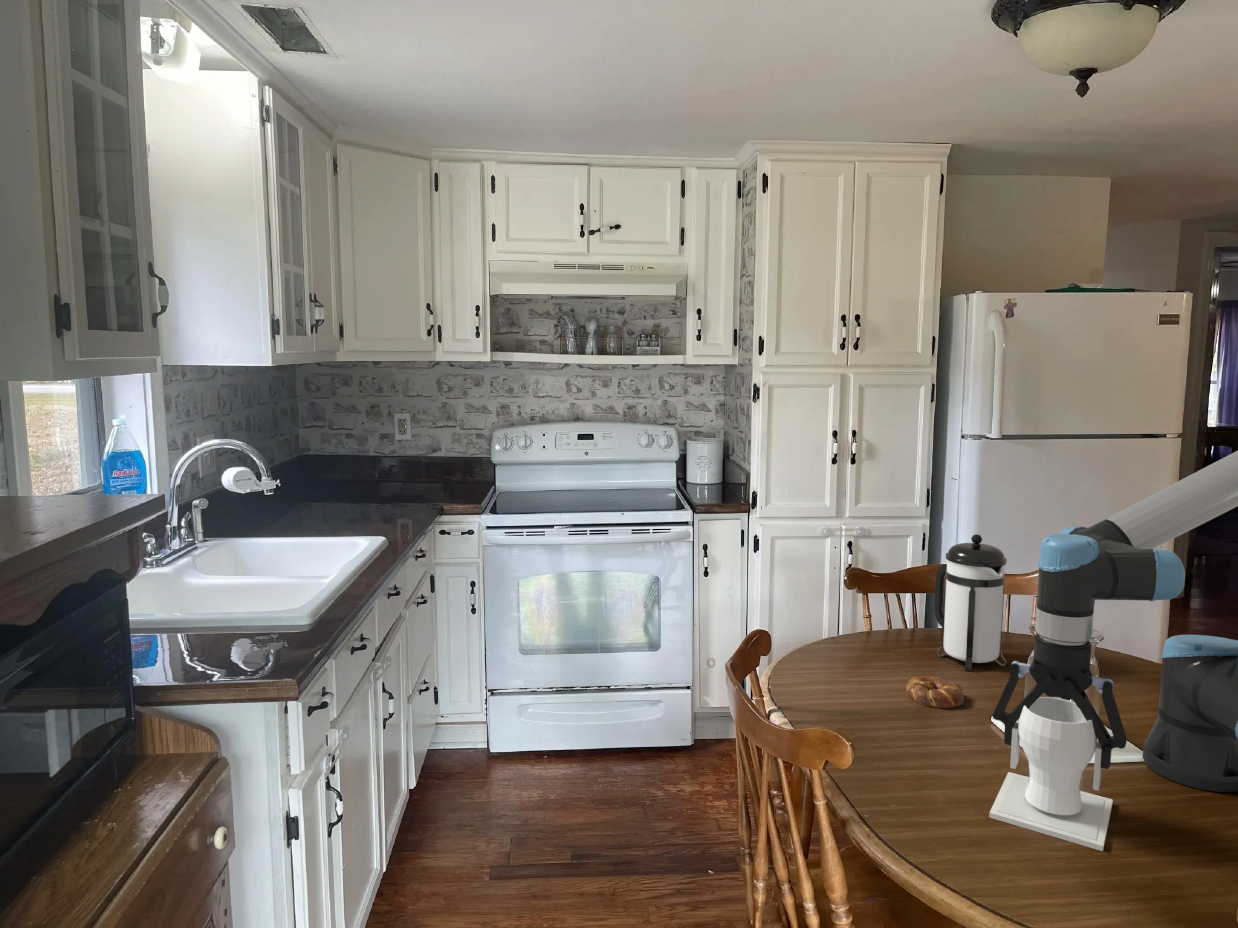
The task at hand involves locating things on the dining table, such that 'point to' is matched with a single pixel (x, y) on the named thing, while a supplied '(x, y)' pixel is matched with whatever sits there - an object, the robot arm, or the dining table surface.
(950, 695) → the brown braided bread ring
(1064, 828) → the coaster
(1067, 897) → the dining table surface
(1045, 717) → the cup
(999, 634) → the coffee press
